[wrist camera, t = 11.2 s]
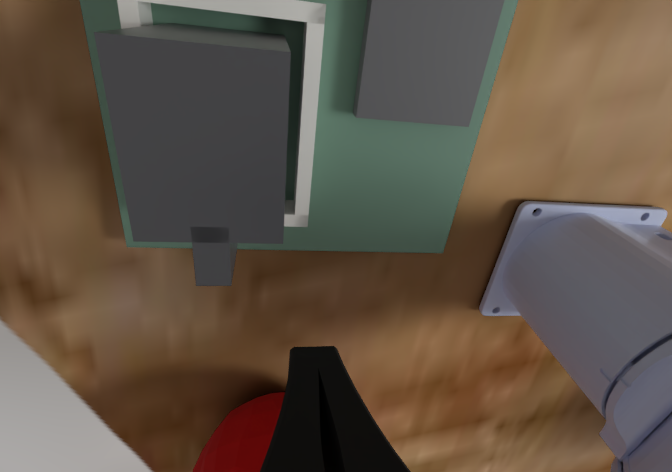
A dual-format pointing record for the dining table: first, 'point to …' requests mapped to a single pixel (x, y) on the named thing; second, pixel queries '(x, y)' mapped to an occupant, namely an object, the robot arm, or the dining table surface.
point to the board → (354, 109)
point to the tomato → (242, 437)
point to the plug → (200, 136)
